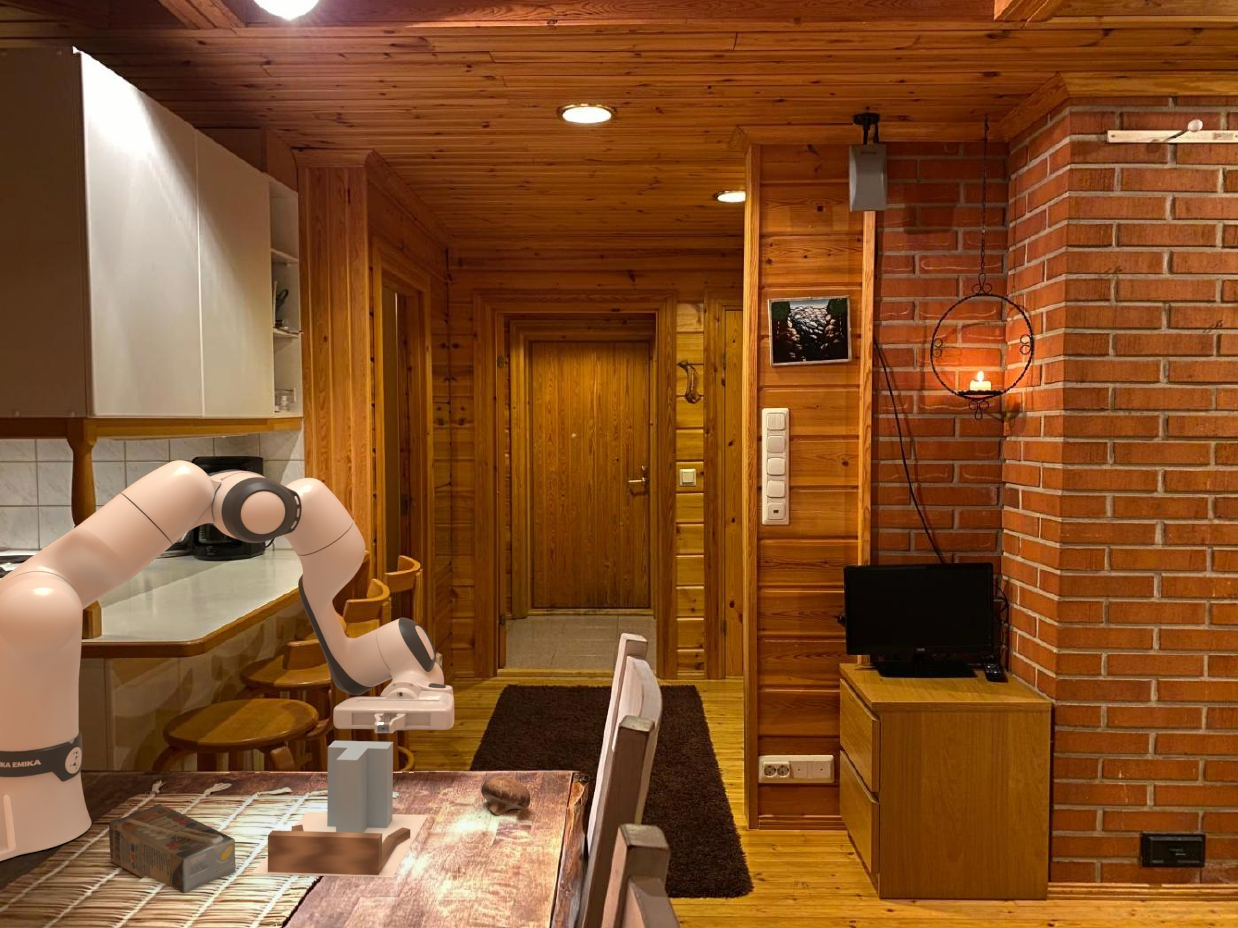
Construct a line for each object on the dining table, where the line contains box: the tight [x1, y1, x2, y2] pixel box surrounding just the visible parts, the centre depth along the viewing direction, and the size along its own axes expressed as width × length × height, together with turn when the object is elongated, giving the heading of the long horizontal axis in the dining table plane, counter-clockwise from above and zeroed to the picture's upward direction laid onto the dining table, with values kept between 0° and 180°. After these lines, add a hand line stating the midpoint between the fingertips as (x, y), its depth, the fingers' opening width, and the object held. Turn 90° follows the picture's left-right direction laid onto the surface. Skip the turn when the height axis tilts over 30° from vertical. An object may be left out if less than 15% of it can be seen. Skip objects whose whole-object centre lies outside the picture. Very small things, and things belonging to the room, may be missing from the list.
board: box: [250, 811, 429, 879], centre depth 131 cm, size 19×20×1 cm
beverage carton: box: [108, 803, 237, 894], centre depth 124 cm, size 8×19×6 cm, turn 56°
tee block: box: [326, 740, 394, 833], centre depth 135 cm, size 9×8×12 cm
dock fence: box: [267, 825, 410, 875], centre depth 128 cm, size 18×12×5 cm
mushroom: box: [480, 776, 531, 817], centre depth 145 cm, size 8×8×6 cm
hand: (383, 728), depth 148 cm, fingers closed
